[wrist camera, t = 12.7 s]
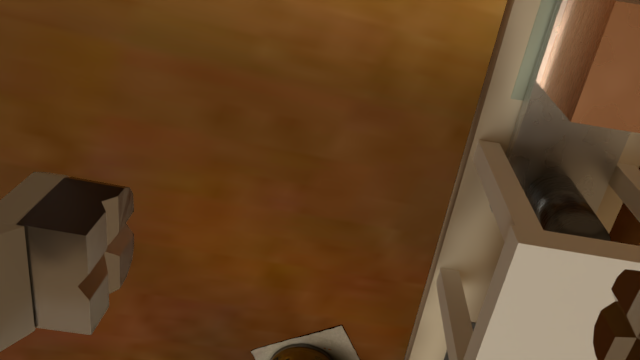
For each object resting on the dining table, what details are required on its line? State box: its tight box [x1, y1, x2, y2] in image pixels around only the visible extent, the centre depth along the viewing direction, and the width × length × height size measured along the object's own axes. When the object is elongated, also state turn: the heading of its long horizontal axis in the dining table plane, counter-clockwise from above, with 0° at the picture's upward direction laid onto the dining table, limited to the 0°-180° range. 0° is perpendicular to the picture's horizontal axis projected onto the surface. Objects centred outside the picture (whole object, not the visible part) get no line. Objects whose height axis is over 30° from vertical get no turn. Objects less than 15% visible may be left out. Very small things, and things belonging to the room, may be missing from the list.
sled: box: [489, 0, 640, 241], centre depth 31 cm, size 7×24×7 cm, turn 172°
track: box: [404, 0, 640, 360], centre depth 41 cm, size 11×42×2 cm, turn 172°
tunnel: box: [436, 140, 640, 360], centre depth 35 cm, size 11×12×12 cm
